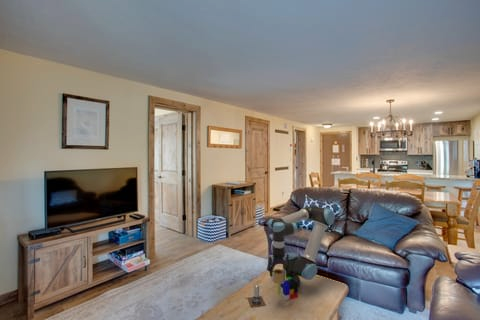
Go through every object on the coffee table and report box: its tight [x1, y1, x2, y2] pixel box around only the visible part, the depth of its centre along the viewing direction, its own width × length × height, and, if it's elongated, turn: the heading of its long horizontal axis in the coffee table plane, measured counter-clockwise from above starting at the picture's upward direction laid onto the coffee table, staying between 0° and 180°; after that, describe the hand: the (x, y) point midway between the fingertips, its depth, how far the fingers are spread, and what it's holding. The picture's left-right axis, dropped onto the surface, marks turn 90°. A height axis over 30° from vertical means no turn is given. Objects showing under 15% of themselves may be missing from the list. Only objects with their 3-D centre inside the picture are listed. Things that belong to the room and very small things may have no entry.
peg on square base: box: [247, 284, 267, 308], centre depth 168 cm, size 10×10×12 cm
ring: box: [273, 268, 285, 285], centre depth 165 cm, size 8×8×6 cm
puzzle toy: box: [277, 277, 299, 301], centre depth 177 cm, size 10×10×10 cm
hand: (278, 280), depth 165 cm, fingers closed on ring, 8 cm apart
